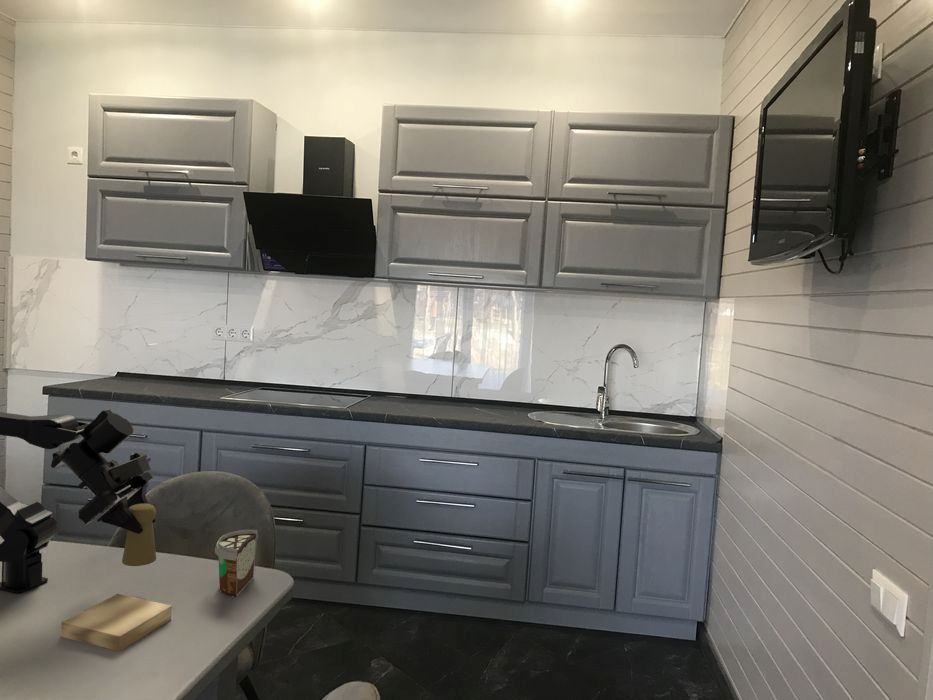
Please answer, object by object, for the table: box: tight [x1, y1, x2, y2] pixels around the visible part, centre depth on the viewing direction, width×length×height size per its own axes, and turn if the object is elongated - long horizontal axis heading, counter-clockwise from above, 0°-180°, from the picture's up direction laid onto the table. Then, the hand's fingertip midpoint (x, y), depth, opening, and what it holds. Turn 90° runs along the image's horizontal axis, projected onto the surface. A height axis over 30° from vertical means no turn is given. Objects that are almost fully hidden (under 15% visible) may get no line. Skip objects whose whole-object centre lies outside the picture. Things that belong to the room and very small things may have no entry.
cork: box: [121, 503, 157, 567], centre depth 128 cm, size 6×6×11 cm
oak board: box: [60, 593, 173, 652], centre depth 114 cm, size 12×12×2 cm
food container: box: [214, 529, 259, 598], centre depth 133 cm, size 12×6×10 cm, turn 178°
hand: (147, 527), depth 128 cm, fingers closed on cork, 5 cm apart
